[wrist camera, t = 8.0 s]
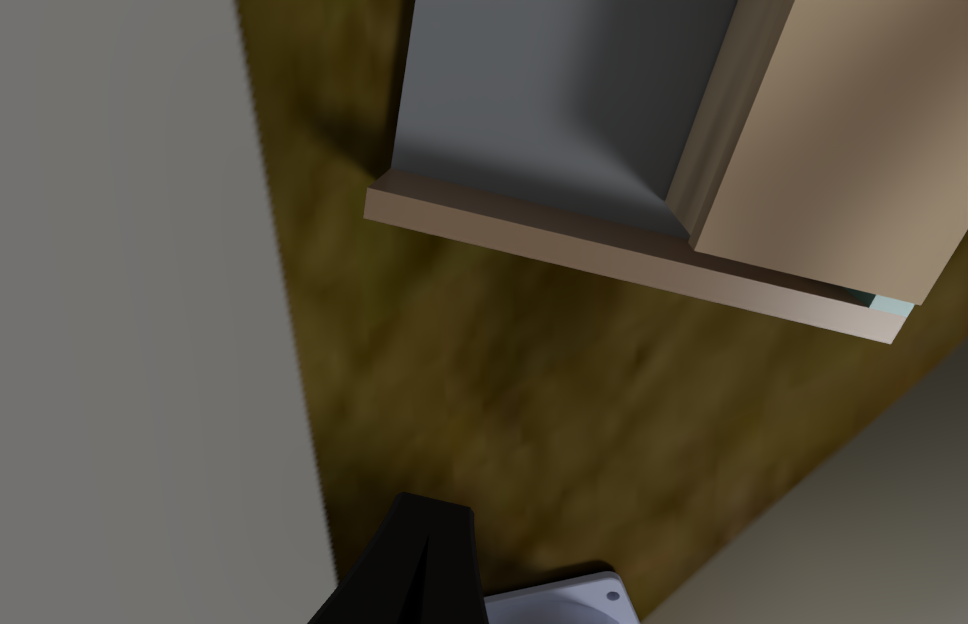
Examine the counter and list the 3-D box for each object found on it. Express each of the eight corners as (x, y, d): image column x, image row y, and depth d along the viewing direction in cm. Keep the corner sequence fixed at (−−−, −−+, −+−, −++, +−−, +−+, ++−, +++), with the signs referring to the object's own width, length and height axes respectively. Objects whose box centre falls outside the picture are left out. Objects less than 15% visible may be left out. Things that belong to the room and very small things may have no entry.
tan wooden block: (951, 25, 14) (1096, 18, 10) (837, 247, 16) (920, 305, 13) (743, -27, 14) (815, -52, 10) (659, 205, 16) (694, 250, 13)
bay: (1016, -37, 14) (1133, -56, 11) (836, 297, 18) (890, 344, 15) (446, -179, 14) (423, -235, 11) (390, 190, 17) (363, 218, 15)
